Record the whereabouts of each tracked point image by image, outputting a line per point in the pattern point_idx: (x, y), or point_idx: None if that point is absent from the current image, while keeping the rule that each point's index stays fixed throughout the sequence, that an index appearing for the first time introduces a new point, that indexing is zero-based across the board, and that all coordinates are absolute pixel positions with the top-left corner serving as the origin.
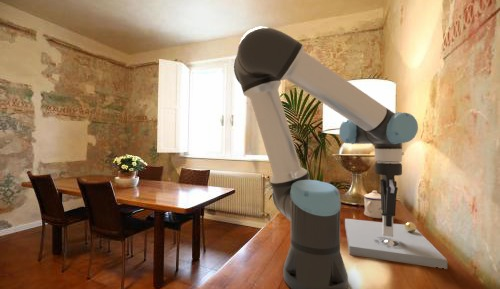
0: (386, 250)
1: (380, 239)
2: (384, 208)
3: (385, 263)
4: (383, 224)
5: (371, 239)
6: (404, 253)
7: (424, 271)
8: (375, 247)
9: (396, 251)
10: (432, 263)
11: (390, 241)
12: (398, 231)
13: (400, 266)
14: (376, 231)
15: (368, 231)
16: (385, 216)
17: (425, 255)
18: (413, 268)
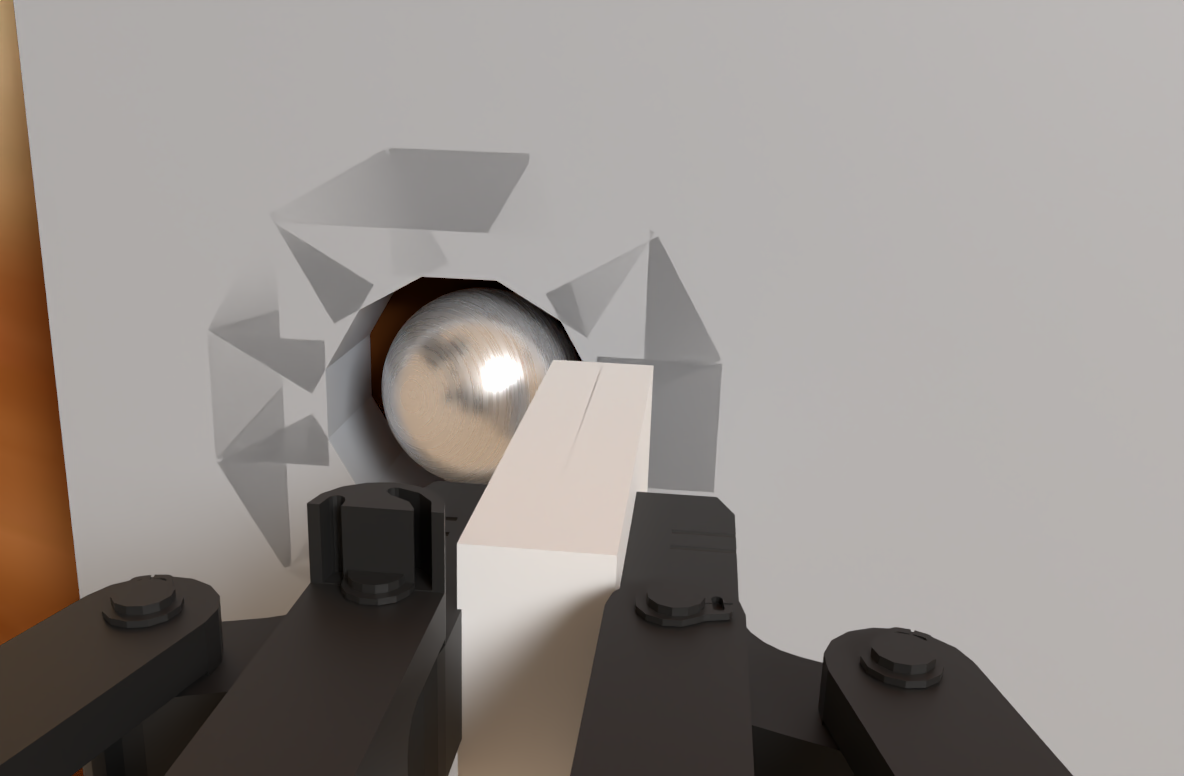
0: (75, 266)
1: (572, 286)
2: (312, 692)
3: (4, 193)
4: (516, 438)
5: (513, 104)
6: (82, 511)
7: (4, 611)
8: (130, 103)
9: (107, 416)
10: None
11: (418, 429)
12: (1161, 748)
13: (7, 373)
14: (1059, 313)
15: (1012, 130)
16: (467, 582)
17: None
18: (26, 515)
